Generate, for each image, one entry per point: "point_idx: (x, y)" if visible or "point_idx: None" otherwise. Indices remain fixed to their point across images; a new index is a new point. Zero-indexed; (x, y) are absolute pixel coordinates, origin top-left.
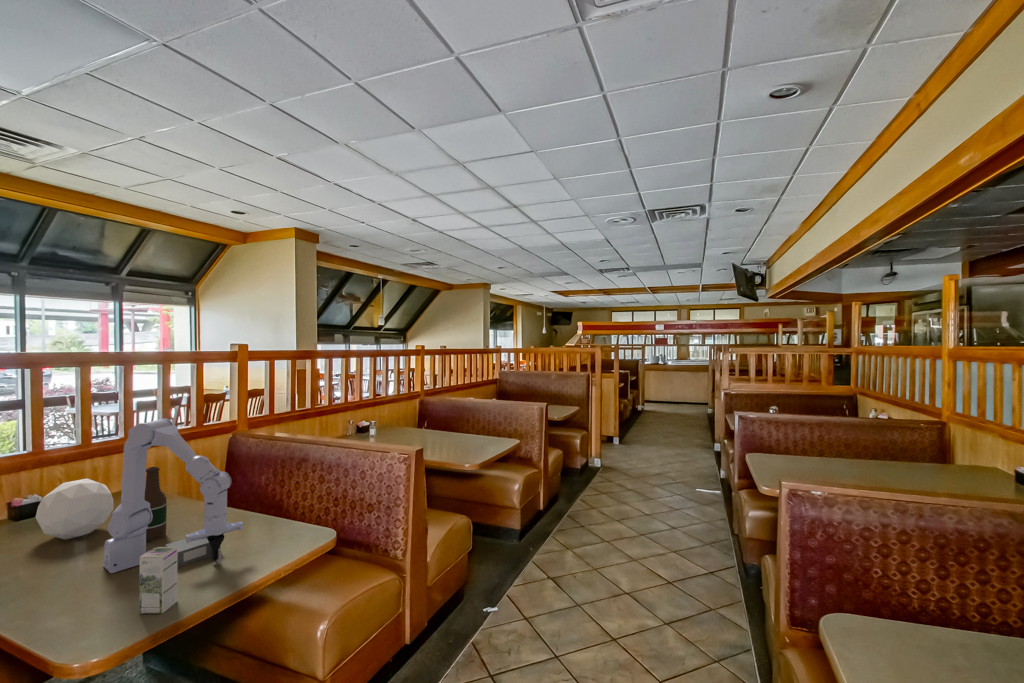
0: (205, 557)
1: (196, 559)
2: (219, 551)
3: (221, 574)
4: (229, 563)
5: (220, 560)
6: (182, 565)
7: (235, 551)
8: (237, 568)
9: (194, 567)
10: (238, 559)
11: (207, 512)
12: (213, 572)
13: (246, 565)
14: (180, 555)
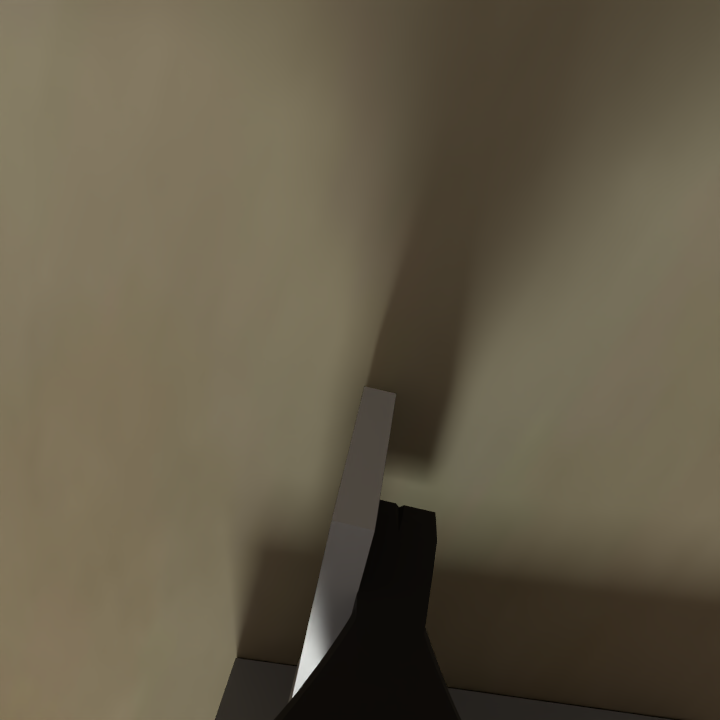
0: None
1: (485, 710)
2: (342, 576)
3: (534, 41)
4: (263, 340)
5: (371, 423)
6: (633, 716)
7: (100, 571)
8: (241, 33)
9: (593, 593)
10: (129, 352)
11: None
12: (559, 254)
13: (86, 11)
14: None
